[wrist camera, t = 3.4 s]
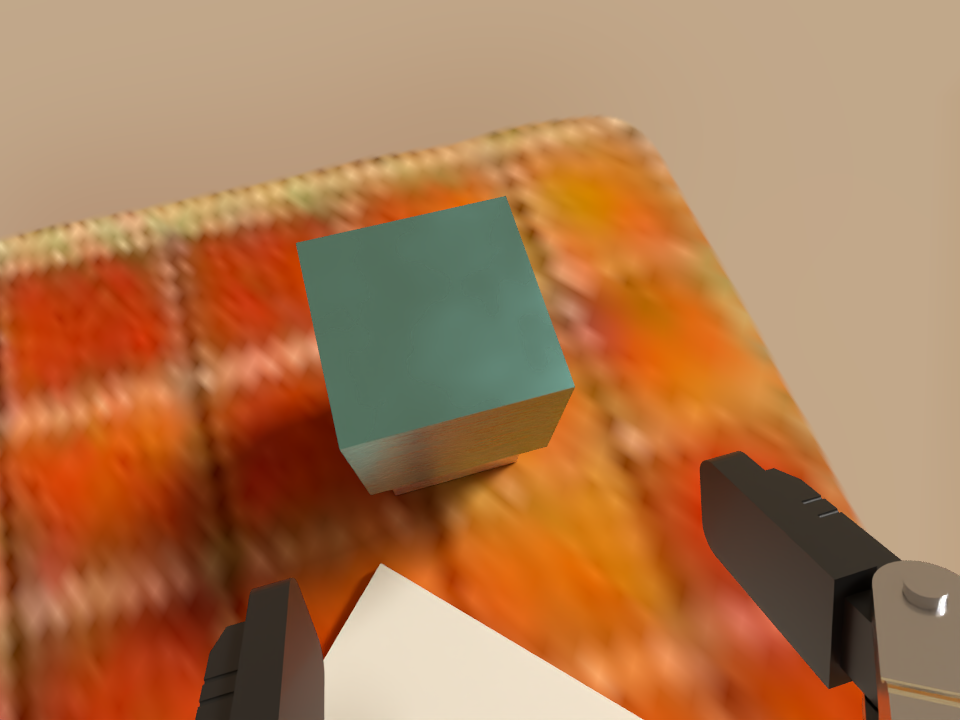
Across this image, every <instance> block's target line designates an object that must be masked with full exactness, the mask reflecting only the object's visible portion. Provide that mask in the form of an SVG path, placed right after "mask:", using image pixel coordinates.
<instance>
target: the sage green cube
mask: <svg viewBox="0 0 960 720" xmlns="http://www.w3.org/2000/svg"><path fill="white" fill-rule="evenodd" d="M296 246H297V250H298V255H299V260H300V265H301V269H302V274H303V279H304V284H305V288H306V293H307V298H308V302H309V307H310V312H311V317H312V321H313V326H314V331H315V336H316V340H317V345H318V350H319V354H320V359H321V364H322V369H323V373H324V378H325V383H326V388H327V392H328V397H329V402H330V407H331V411H332V416H333V421H334V425H335V430H336V435H337V440H338V444H339V449H340V451H341V452H342V454H343V455H344V457H345V458H346V460H347V461H348V463H349V464H350V466H351V467H352V468H353V470H354V471H355V473H356V474H357V476H358V477H359V479H360V480H361V482H362V483H363V485H364V486H365V488H366V489H367V490H368V492H369V493H370V495H374V494H377V493H381V492H384V491H388V490H392V489H395V488H399V487H402V486H406V485H410V484H413V483H417V482H420V481H424V480H428V479H431V478H435V477H438V476H442V475H446V474H449V473H453V472H456V471H460V470H464V469H467V468H471V467H474V466H478V465H482V464H485V463H489V462H493V461H496V460H500V459H503V458H507V457H511V456H514V455H518V454H521V453H525V452H529V451H532V450H536V449H539V448H543V447H547V445H548V443H549V441H550V439H551V437H552V435H553V433H554V431H555V428H556V426H557V424H558V422H559V420H560V418H561V416H562V413H563V411H564V409H565V407H566V405H567V403H568V401H569V398H570V396H571V394H572V392H573V390H574V388H575V386H574V383H573V380H572V377H571V375H570V372H569V369H568V366H567V364H566V361H565V358H564V355H563V353H562V350H561V347H560V344H559V342H558V339H557V336H556V333H555V331H554V328H553V325H552V322H551V319H550V317H549V314H548V311H547V308H546V306H545V303H544V300H543V297H542V295H541V292H540V289H539V286H538V284H537V281H536V278H535V275H534V273H533V270H532V267H531V264H530V262H529V259H528V256H527V253H526V251H525V248H524V245H523V242H522V240H521V237H520V234H519V231H518V228H517V226H516V223H515V220H514V217H513V215H512V212H511V209H510V206H509V204H508V201H507V198H506V196H504V197H500V198H495V199H491V200H486V201H482V202H477V203H473V204H468V205H464V206H459V207H455V208H450V209H446V210H442V211H437V212H433V213H428V214H424V215H419V216H415V217H410V218H406V219H401V220H397V221H392V222H388V223H383V224H379V225H375V226H370V227H366V228H361V229H357V230H352V231H348V232H343V233H339V234H334V235H330V236H325V237H321V238H316V239H312V240H308V241H303V242H299V243H296Z"/></svg>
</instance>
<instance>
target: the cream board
mask: <svg viewBox="0 0 960 720" xmlns="http://www.w3.org/2000/svg"><path fill="white" fill-rule="evenodd" d="M323 661H324V672H325V687H324V720H643V719H641V718H639V717H638V716H636V715H634V714H633V713H631V712H629V711H628V710H626V709H624V708H623V707H621V706H619V705H618V704H616V703H614V702H613V701H611V700H609V699H608V698H606V697H604V696H603V695H601V694H599V693H598V692H596V691H594V690H593V689H591V688H589V687H588V686H586V685H584V684H582V683H581V682H579V681H577V680H576V679H574V678H572V677H571V676H569V675H567V674H566V673H564V672H562V671H561V670H559V669H557V668H556V667H554V666H552V665H551V664H549V663H547V662H546V661H544V660H542V659H541V658H539V657H537V656H536V655H534V654H532V653H531V652H529V651H527V650H526V649H524V648H522V647H520V646H519V645H517V644H515V643H514V642H512V641H510V640H509V639H507V638H505V637H504V636H502V635H500V634H499V633H497V632H495V631H494V630H492V629H490V628H489V627H487V626H485V625H484V624H482V623H480V622H479V621H477V620H475V619H474V618H472V617H470V616H469V615H467V614H465V613H464V612H462V611H460V610H458V609H457V608H455V607H453V606H452V605H450V604H448V603H447V602H445V601H443V600H442V599H440V598H438V597H437V596H435V595H433V594H432V593H430V592H428V591H427V590H425V589H423V588H422V587H420V586H418V585H417V584H415V583H413V582H412V581H410V580H408V579H407V578H405V577H403V576H402V575H400V574H398V573H396V572H395V571H393V570H391V569H390V568H388V567H386V566H385V565H383V564H381V563H380V565H379V567H378V568H377V570H376V572H375V574H374V575H373V577H372V579H371V580H370V582H369V584H368V585H367V587H366V589H365V591H364V592H363V594H362V596H361V597H360V599H359V601H358V602H357V604H356V606H355V608H354V609H353V611H352V613H351V614H350V616H349V618H348V619H347V621H346V623H345V625H344V626H343V628H342V630H341V631H340V633H339V635H338V636H337V638H336V640H335V642H334V643H333V645H332V647H331V648H330V650H329V652H328V653H327V655H326V657H325V659H324V660H323Z"/></svg>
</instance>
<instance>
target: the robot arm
mask: <svg viewBox="0 0 960 720" xmlns="http://www.w3.org/2000/svg"><path fill="white" fill-rule="evenodd" d="M700 485H701V504H702V523H703V530H704V533H705V537H706V539H707V542H708V544H709V546H710V548H711V550H712V551H713V553H714V554H715V556H716V557H717V558H718V559H719V560H720V562H721V563H722V564H723V565H724V566H725V568H726V569H727V570H728V571H729V572H730V573H731V575H732V576H733V577H734V578H735V579H736V581H737V582H738V583H739V584H740V585H741V586H742V588H743V589H744V590H745V591H746V592H747V593H748V595H749V596H750V597H751V598H752V599H753V601H754V602H755V603H756V604H757V605H758V606H759V608H760V609H761V610H762V611H763V612H764V613H765V615H766V616H767V617H768V618H769V619H770V621H771V622H772V623H773V624H774V625H775V626H776V628H777V629H778V630H779V631H780V632H781V633H782V635H783V636H784V637H785V638H786V639H787V641H788V642H789V643H790V644H791V645H792V646H793V648H794V649H795V650H796V651H797V652H798V654H799V655H800V656H801V657H802V658H803V659H804V661H805V662H806V663H807V664H808V665H809V666H810V668H811V669H812V670H813V671H814V672H815V674H816V675H817V676H818V677H819V678H820V679H821V681H822V682H823V683H824V684H825V685H826V686H827V688H828V689H830V688H833V687H836V686H839V685H842V684H845V683H848V682H851V681H853V682H854V683H855V684H856V685H857V686H858V687H859V688H860V689H861V691H862V692H863V698H862V714H863V720H960V576H959V575H957V574H956V573H954V572H951V571H950V570H948V569H945V568H942V567H940V566H937V565H934V564H930V563H925V562H921V561H902V560H900V559H899V558H898V557H897V556H895V555H894V554H893V553H892V552H890V551H889V550H888V549H887V548H885V547H884V546H883V545H882V544H880V543H879V542H878V541H877V540H876V539H874V538H873V537H872V536H871V535H869V534H868V533H867V532H866V531H864V530H863V529H862V528H861V527H859V526H858V525H857V524H856V523H854V522H853V521H852V520H851V519H849V518H848V517H847V516H846V515H844V514H843V513H842V512H840V513H839V512H838V510H837V508H836V507H834V506H833V505H832V504H831V503H829V502H828V501H827V500H826V499H822V498H821V495H820V494H818V493H817V492H816V491H815V490H813V489H812V488H811V487H810V486H808V485H807V484H806V483H805V482H803V481H802V480H801V479H799V478H796V477H794V476H791V475H789V474H786V473H784V472H782V471H779V470H777V469H774V468H773V469H769V470H766V471H765V470H764V469H762V468H761V467H760V466H759V465H758V464H757V463H755V462H754V461H753V460H752V459H751V458H749V457H748V456H747V455H746V454H745V453H743V452H741V451H737V452H733V453H730V454H726V455H723V456H719V457H716V458H712V459H709V460H705V461H703V462H702V463H701V466H700ZM204 681H205V684H204V685H203V686H202V691H201V696H200V700H199V702H200V707H198V710H197V714H196V719H195V720H324V687H325V672H324V661H323V655H322V650H321V646H320V642H319V639H318V636H317V633H316V630H315V628H314V625H313V623H312V620H311V617H310V615H309V612H308V609H307V607H306V604H305V601H304V599H303V596H302V593H301V591H300V588H299V586H298V583H297V581H296V580H295V579H294V578H289V579H286V580H282V581H279V582H275V583H272V584H268V585H265V586H261V587H258V588H254V589H252V590H251V592H250V596H249V602H248V609H247V615H246V621H245V622H241V623H238V624H235V625H231V626H228V627H226V629H225V630H224V632H223V633H222V635H221V636H220V638H219V639H218V641H217V643H216V644H215V646H214V647H213V649H212V650H211V652H210V654H209V659H208V663H207V668H206V673H205V677H204Z"/></svg>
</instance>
